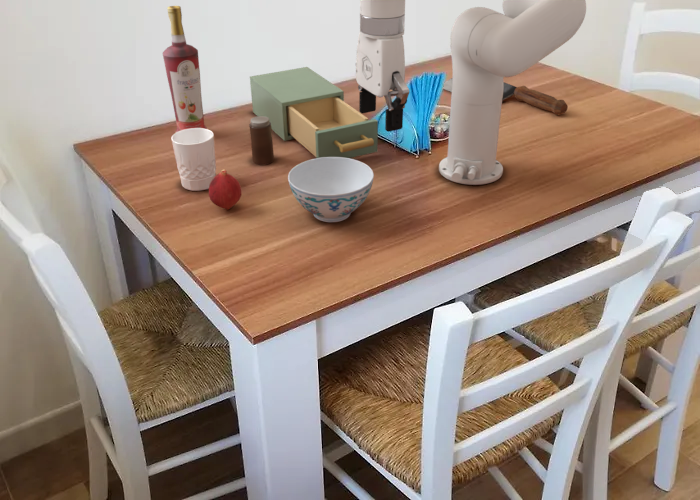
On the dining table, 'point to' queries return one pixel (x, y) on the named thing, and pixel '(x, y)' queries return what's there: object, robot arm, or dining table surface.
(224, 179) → the onion
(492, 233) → the dining table surface
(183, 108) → the liquor
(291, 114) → the drawer
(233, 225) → the dining table surface
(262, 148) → the pepper mill
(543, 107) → the meat cleaver
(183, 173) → the white cup
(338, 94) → the cabinet
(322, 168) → the chinaware
